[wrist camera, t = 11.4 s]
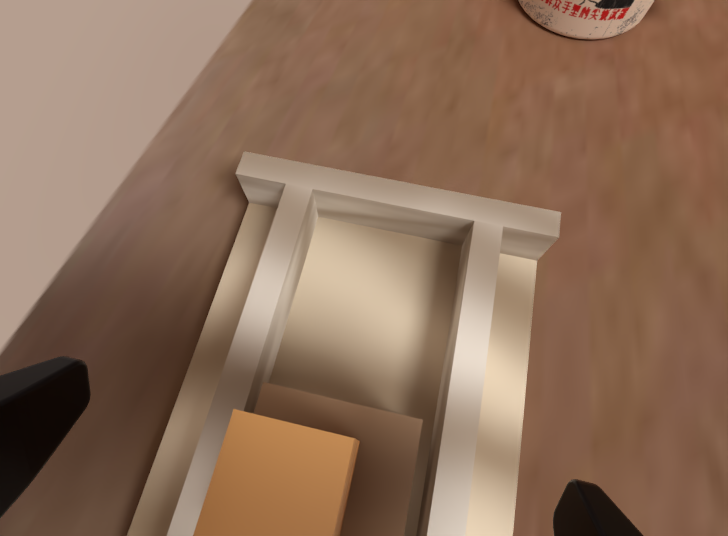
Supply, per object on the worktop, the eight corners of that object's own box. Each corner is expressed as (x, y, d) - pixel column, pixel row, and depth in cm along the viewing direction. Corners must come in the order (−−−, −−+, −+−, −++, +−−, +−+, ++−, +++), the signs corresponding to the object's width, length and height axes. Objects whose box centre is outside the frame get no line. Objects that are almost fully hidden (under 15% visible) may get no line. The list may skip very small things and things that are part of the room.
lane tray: (480, 741, 15) (517, 835, 12) (108, 632, 17) (34, 686, 13) (529, 236, 23) (561, 196, 19) (267, 185, 24) (249, 137, 20)
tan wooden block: (382, 568, 16) (435, 945, 4) (251, 533, 16) (-62, 779, 4) (407, 425, 18) (498, 389, 6) (288, 397, 18) (141, 307, 6)
